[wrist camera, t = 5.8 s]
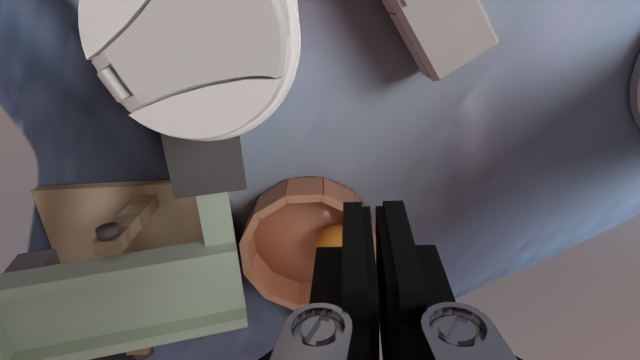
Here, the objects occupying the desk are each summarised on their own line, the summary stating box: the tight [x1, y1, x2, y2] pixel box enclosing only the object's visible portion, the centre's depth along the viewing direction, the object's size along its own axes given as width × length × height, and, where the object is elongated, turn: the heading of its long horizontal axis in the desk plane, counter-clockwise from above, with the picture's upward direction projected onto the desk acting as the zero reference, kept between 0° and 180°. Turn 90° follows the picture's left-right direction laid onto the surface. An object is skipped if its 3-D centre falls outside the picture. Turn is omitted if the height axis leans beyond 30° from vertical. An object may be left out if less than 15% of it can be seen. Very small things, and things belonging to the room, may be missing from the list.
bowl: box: [239, 176, 376, 311], centre depth 33 cm, size 10×10×4 cm
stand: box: [31, 180, 204, 360], centre depth 31 cm, size 15×11×8 cm
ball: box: [316, 224, 343, 248], centre depth 32 cm, size 4×4×4 cm
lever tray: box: [0, 133, 248, 360], centre depth 28 cm, size 17×15×6 cm
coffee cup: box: [78, 0, 301, 141], centre depth 21 cm, size 8×8×15 cm
